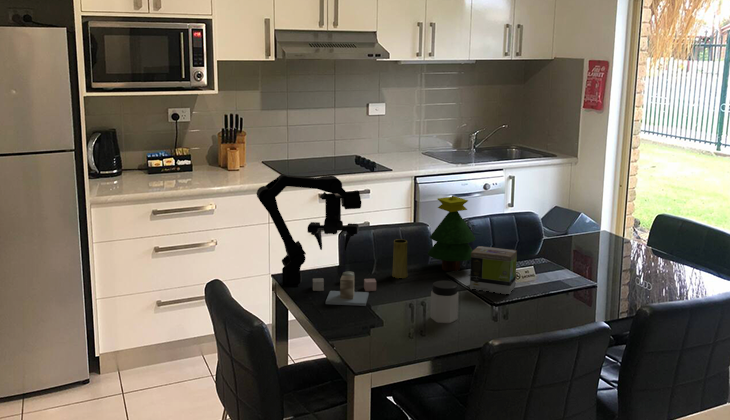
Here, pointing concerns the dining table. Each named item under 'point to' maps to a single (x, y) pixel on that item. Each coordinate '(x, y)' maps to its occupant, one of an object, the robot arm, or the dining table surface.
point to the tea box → (493, 269)
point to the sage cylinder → (348, 273)
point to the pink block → (370, 284)
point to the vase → (400, 259)
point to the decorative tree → (452, 236)
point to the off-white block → (318, 284)
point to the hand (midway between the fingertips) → (333, 250)
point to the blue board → (358, 299)
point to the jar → (444, 302)
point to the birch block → (347, 287)
